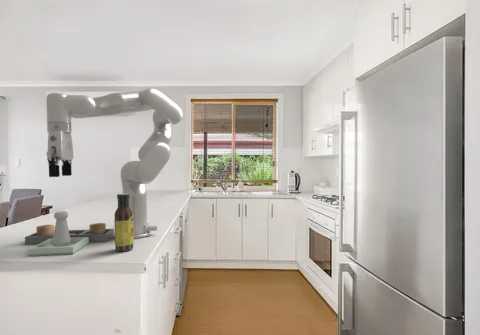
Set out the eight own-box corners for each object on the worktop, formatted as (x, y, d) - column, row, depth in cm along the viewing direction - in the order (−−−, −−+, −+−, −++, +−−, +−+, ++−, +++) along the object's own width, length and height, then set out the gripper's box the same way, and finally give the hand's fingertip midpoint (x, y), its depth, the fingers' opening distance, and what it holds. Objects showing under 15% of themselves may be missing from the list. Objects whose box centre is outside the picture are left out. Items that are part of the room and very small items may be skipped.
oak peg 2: (107, 237, 129) (107, 222, 129) (103, 240, 123) (102, 225, 123) (92, 237, 128) (92, 223, 128) (87, 241, 122) (87, 226, 122)
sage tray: (88, 243, 118) (88, 237, 118) (73, 254, 104) (73, 246, 104) (50, 245, 117) (50, 238, 117) (29, 256, 103) (29, 248, 103)
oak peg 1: (57, 239, 126) (56, 224, 126) (49, 242, 120) (49, 227, 120) (41, 239, 126) (41, 225, 126) (33, 243, 120) (33, 228, 120)
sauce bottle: (136, 250, 108) (135, 193, 108) (117, 253, 105) (116, 195, 104) (130, 246, 114) (130, 192, 113) (113, 249, 110) (112, 193, 110)
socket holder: (114, 235, 131) (114, 227, 131) (106, 241, 121) (106, 233, 121) (39, 238, 128) (38, 230, 127) (24, 244, 118) (24, 236, 117)
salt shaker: (62, 250, 107) (61, 213, 107) (48, 249, 108) (47, 212, 108) (74, 245, 113) (73, 210, 113) (61, 245, 114) (60, 210, 114)
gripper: (59, 125, 102) (60, 177, 103) (80, 131, 119) (81, 175, 120) (35, 125, 101) (36, 177, 102) (59, 131, 119) (60, 175, 119)
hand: (60, 176), depth 111 cm, fingers open, 9 cm apart
